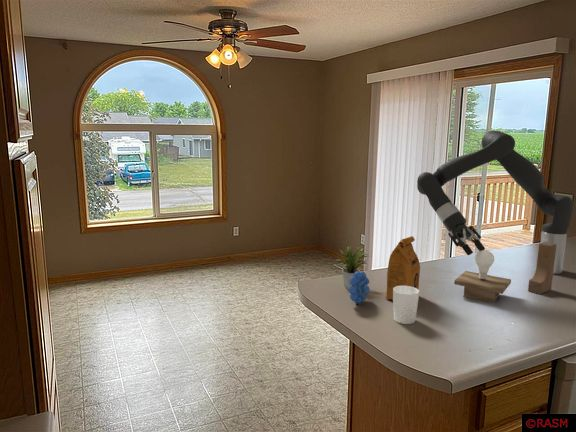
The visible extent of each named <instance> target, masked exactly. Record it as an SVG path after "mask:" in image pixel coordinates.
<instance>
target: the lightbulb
mask: <svg viewBox="0 0 576 432" xmlns="http://www.w3.org/2000/svg"><path fill="white" fill-rule="evenodd" d="M474 261H475V264H476V266H477V269H478V273H479V278H480V279H481V280H485V279H487V275H488V272H489V269H490V268H491V267H492V266H493V264H494V262H495V256H494V254H493V252H491V251H489V250H487V249H485V250H481V251H479V250H478V252H477V253H476V254H475V257H474Z"/></svg>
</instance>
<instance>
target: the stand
mask: <svg viewBox="0 0 576 432" xmlns="http://www.w3.org/2000/svg"><path fill="white" fill-rule="evenodd" d="M511 283H512V279H511V278H508V277H507V278H506V277H500V276H495V275H489V274H487V279H485V280H481V279H480V278H479V272H474V271H468V270H465V271H463V272H462V273H461V274H460V275H459V276H458V277H457V278H455V279H454V283H453V284H454V285H455V286H462V287H463V297H464V298H465V297H466V298H470V299H474V300H479V301H483V302H488V303H494V302H496V300H497V299H498V297H499V296H500V295H503V294H504V293H505V291H507V288H509V286H510V285H511Z"/></svg>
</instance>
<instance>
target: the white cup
mask: <svg viewBox="0 0 576 432" xmlns="http://www.w3.org/2000/svg"><path fill="white" fill-rule="evenodd" d="M419 297H420V289H419V290H418V289H417V288H414V287H411V286H396V287H394V288H393V300H392V311H393V318H392V319H393V320H394V321H395V322H396V323H399V324H403V325H411V324H415V322H416V321H417V312H418V306H419V299H420V298H419Z"/></svg>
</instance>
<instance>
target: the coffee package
mask: <svg viewBox="0 0 576 432" xmlns="http://www.w3.org/2000/svg"><path fill="white" fill-rule="evenodd" d="M415 241H416V239H415V238H414V236H412V235H411V236H409V237H406V238H401V240H400V241H399V242H398V244H397V245H396V246H395V248H394V249H393V250H392V251H391V254H390V255H389V259H388V266H387V272H386V299H387V300H392V301H393V288H394V287H396V286H411V287H414V288H417V289H418V290H419V291H420V288H419V287H420V274H421V265H420V259H419V257H418V255H417V253H416V252H415V250H414V246H413V242H415Z"/></svg>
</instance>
